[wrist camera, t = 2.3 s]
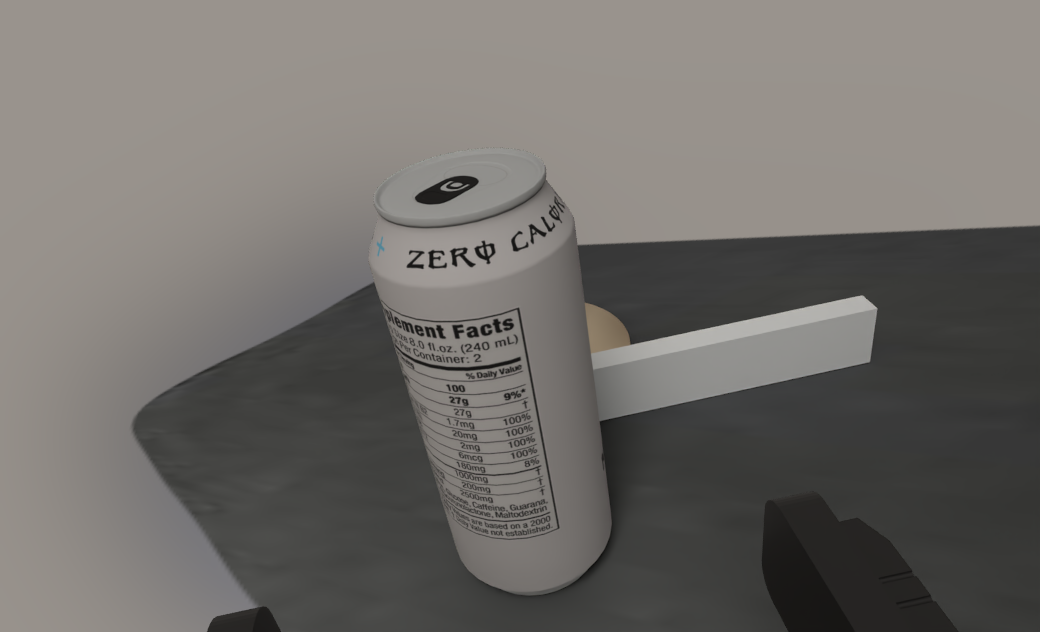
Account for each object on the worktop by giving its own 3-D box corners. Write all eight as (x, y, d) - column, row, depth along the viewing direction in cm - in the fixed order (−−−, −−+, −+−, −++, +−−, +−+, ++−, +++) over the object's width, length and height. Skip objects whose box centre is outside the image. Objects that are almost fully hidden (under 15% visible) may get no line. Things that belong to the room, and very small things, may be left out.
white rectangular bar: (855, 348, 34) (862, 295, 33) (869, 362, 33) (877, 308, 32) (428, 440, 33) (413, 391, 32) (429, 458, 32) (414, 408, 31)
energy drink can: (644, 523, 27) (611, 153, 19) (546, 640, 24) (457, 249, 16) (528, 463, 31) (460, 131, 23) (428, 556, 28) (308, 205, 20)
